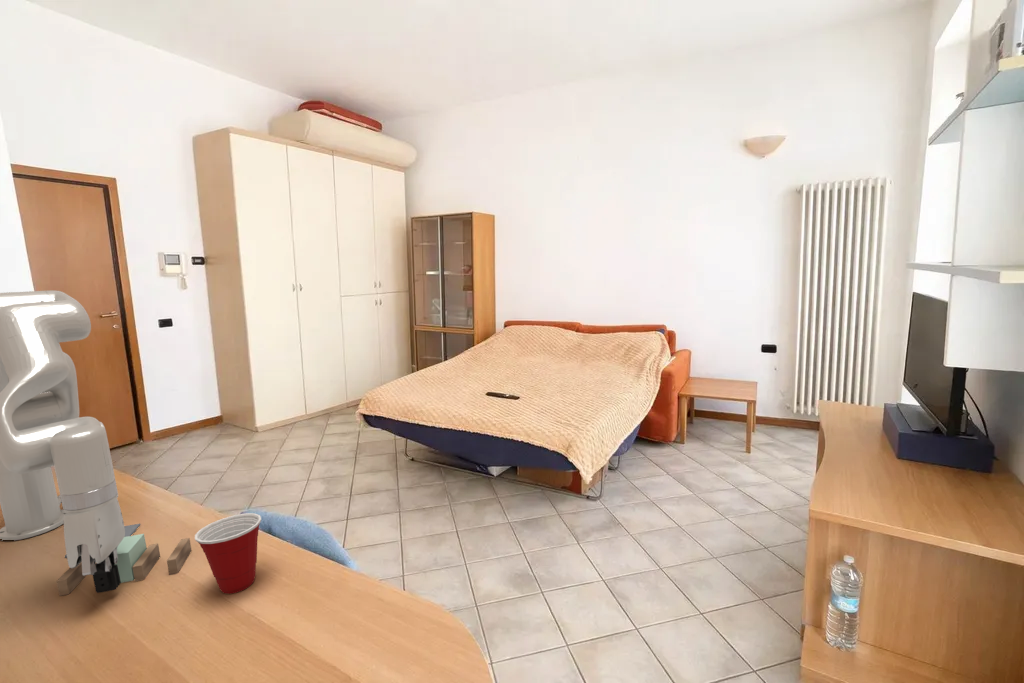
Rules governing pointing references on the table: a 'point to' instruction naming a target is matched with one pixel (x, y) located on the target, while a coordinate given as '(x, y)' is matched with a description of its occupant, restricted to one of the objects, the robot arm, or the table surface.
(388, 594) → the table surface
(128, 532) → the pad
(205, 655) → the table surface
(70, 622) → the table surface
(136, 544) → the block
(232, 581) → the plastic cup
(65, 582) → the rack
